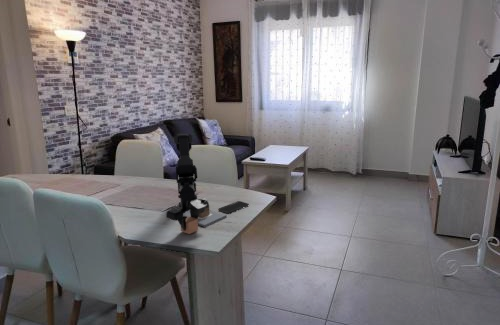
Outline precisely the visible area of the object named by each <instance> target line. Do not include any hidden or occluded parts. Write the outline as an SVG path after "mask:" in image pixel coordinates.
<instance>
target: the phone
mask: <svg viewBox="0 0 500 325" xmlns="http://www.w3.org/2000/svg"><path fill="white" fill-rule="evenodd" d="M248 205H249V206H250V204H249V203H247V202H244V201H241V200H237V201H235V202H233V203H229V204H227V205H225V206H224V205H223V206H222V207H219V208H218V210H219V211H218V212H220V213H223V214H226V213H227V214H228V215H230V214H233V213H234V212H237V211H236V210H238V211H240V210H242V209H241V208H243V207H245V208H247V207H246V206H248ZM249 206H248V207H249ZM239 209H240V210H239ZM243 209H244V208H243ZM232 212H233V213H232ZM229 213H230V214H229ZM227 214H226V215H227Z"/></svg>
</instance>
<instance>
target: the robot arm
mask: <svg viewBox="0 0 500 325" xmlns="http://www.w3.org/2000/svg"><path fill="white" fill-rule="evenodd" d="M193 136H194V135H192V134H191V133H176V134H175V135H173V144H174V145H175V147H176V150H177V151H178V153H179V158H178V159H177V161H176V162H177V166H176V165H175V175H176V177H175V178H176V184H177V191H178V192H177V193H178V197H177V198H178V199H179V200H180V202H178V207H179V208H180V209H178V208H172V209H169V210H167V211H166V212H165V215H166V218H167V219H170V220H173V221H177V222H178V223H179V225H180V228H181V227H182V229H183V230H184V231H186V218H187V216H185V213H186V212H188V211H190V215H191V217H193V218H196V219H198V216H199V214H200V213H204V210H205V209H206V208H208V207H209V208H210V204H209V202H208V201H209V200H208V199H206V198H198V195H197V194H196V192H197V183H196V182H197V179H198V168H197V167H196V165H195V164H194V161H193V158H191V157H190V151H191V150H192V144H194V139H193V138H194V137H193Z"/></svg>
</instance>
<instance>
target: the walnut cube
mask: <svg viewBox="0 0 500 325" xmlns="http://www.w3.org/2000/svg"><path fill="white" fill-rule="evenodd" d="M209 210H210V206H209V207H208V208H206V209H205V210H204V213H200V214H199V216H198V217H200V218H203V217H206V216H208V215H210V211H209Z"/></svg>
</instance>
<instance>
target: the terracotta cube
mask: <svg viewBox="0 0 500 325" xmlns="http://www.w3.org/2000/svg"><path fill="white" fill-rule="evenodd" d="M197 231H199V225H198V220H197V219H196V218H193V217H190V216H189V217H187V218H186V231H184V230H183V229H182V227H181V226H180V232H183V233H185V234H188V235H190V234H192V233H195V232H197Z"/></svg>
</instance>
